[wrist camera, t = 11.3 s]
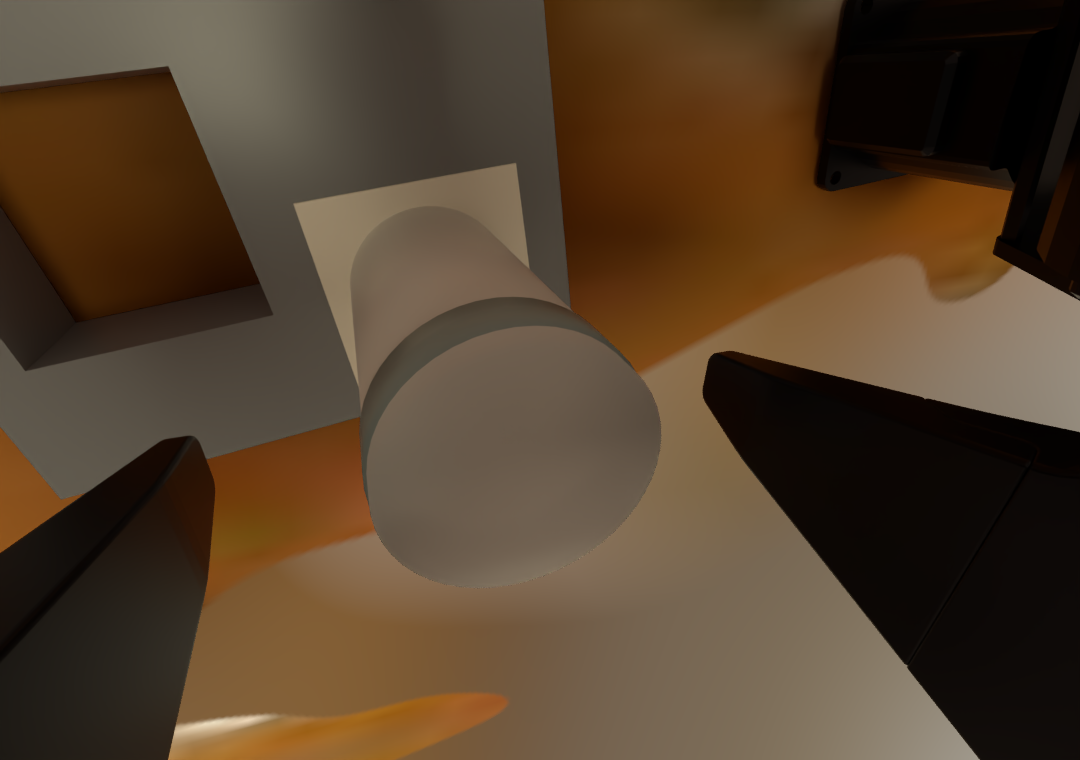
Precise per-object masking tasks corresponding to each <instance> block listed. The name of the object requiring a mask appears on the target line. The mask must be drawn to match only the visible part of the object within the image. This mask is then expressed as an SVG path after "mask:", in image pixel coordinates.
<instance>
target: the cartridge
mask: <svg viewBox="0 0 1080 760" xmlns="http://www.w3.org/2000/svg"><path fill="white" fill-rule="evenodd" d="M350 292H351V304H352V315H353V327H354V338H355V349H356V361H357V372H358V384H359V395H360V407H361V416H360V431H359V435H360V448H361V461H362V474H363V482H364V491H365V494H366V497H367V500H368V504H369V507H370V515H371V518H372V521H373V524H374V528H375V530H376V532H377V534H378V536H379V538H380V540H381V542H382V543H383V544H384V546H385V547H386V548H387V550H388V551H389V552H390V553H391V555H392V556H394V557H395V558H396V559H397V560H398V561H399V562H400V563H401V564H402V565H404V566H405V567H407V568H408V569H410V570H411V571H413V572H414V573H416V574H418V575H421V576H423V577H425V578H427V579H430V580H432V581H436V582H439V583H442V584H446V585H452V586H458V587H469V588H490V587H500V586H507V585H513V584H518V583H522V582H526V581H530V580H533V579H536V578H539V577H542V576H545V575H547V574H549V573H552V572H554V571H557V570H559V569H561V568H563V567H565V566H567V565H569V564H571V563H572V562H574V561H576V560H578V559H579V558H581V557H582V556H584V555H586V554H587V553H589V552H590V551H592V550H593V549H594V548H596V547H597V546H598V545H600V544H601V543H602V542H603V541H604V540H605V539H607V538H608V537H609V536H610V535H611V534H612V533H613V532H615V531H616V529H617V528H618V527H619V526H620V525H621V524H622V523H623V522H624V521H625V520H626V519H627V517H628V516H629V515H630V514H631V512H632V511H633V510H634V508H635V507H636V506H637V504H638V503H639V501H640V499H641V498H642V496H643V495H644V493H645V491H646V489H647V487H648V485H649V483H650V481H651V479H652V476H653V474H654V471H655V468H656V465H657V461H658V456H659V452H660V444H661V424H660V417H659V413H658V409H657V405H656V403H655V401H654V398H653V396H652V393H651V392H650V390H649V389H648V387H647V386H646V384H645V382H644V381H643V380H642V379H641V377H640V376H639V375H638V374H637V373H636V372H635V370H634V368H633V367H632V365H631V364H630V362H629V361H628V360H627V359H626V358H625V357H624V356H623V355H622V354H621V353H620V351H618V350H617V349H616V348H615V347H614V346H613V345H612V344H611V343H610V342H609V341H608V340H607V339H606V338H605V337H604V336H603V335H602V334H601V333H600V332H598V331H597V330H596V329H595V328H594V327H593V326H592V325H591V324H590V323H588V322H587V321H586V320H585V319H583V318H582V317H581V316H579V315H578V314H576V313H574V312H573V311H572V310H571V309H570V308H569V307H568V306H567V305H566V304H565V303H564V302H563V301H562V300H561V299H560V298H559V297H558V296H557V295H556V294H555V293H553V292H552V291H551V290H550V289H549V288H548V287H547V286H546V285H545V284H544V283H543V282H542V281H541V280H540V279H539V278H538V277H537V276H536V275H535V274H534V273H533V272H532V271H531V270H530V269H529V268H528V267H527V266H526V265H524V264H523V263H522V262H521V261H520V260H519V259H518V258H517V257H516V256H515V255H514V254H513V253H512V252H511V251H510V250H509V249H508V248H507V247H506V246H505V245H504V244H503V243H502V242H501V241H500V240H499V239H498V238H496V237H495V236H494V235H493V234H492V233H491V232H490V231H489V230H488V229H487V228H486V227H485V226H484V225H482V224H481V223H480V222H479V221H477V220H476V219H474V218H473V217H471V216H469V215H467V214H465V213H463V212H460V211H458V210H454V209H450V208H446V207H439V206H423V207H415V208H411V209H408V210H404V211H401V212H399V213H397V214H394V215H392V216H391V217H389V218H387V219H386V220H384V221H383V222H381V223H380V224H379V225H378V226H376V227H375V228H374V229H373V230H372V231H371V232H370V233H369V234H368V235H367V237H366V238H365V240H364V241H363V242H362V244H361V245H360V247H359V249H358V251H357V253H356V255H355V258H354V261H353V264H352V269H351V274H350Z"/></svg>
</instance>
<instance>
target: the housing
mask: <svg viewBox="0 0 1080 760" xmlns="http://www.w3.org/2000/svg"><path fill="white" fill-rule="evenodd" d="M165 72H171V73H172V76H173V78H174V81H175V83H176V85H177V88H178V90H179V92H180V95H181V97H182V99H183V102H184V104H185V107H186V109H187V111H188V114H189V116H190V118H191V121H192V123H193V125H194V128H195V130H196V133H197V135H198V137H199V140H200V142H201V144H202V147H203V149H204V151H205V154H206V156H207V159H208V161H209V163H210V166H211V168H212V170H213V173H214V175H215V177H216V180H217V182H218V185H219V187H220V189H221V192H222V194H223V196H224V199H225V201H226V203H227V206H228V208H229V211H230V213H231V215H232V218H233V220H234V222H235V225H236V227H237V229H238V232H239V234H240V237H241V239H242V241H243V244H244V246H245V248H246V251H247V253H248V255H249V258H250V260H251V263H252V265H253V267H254V270H255V272H256V274H257V277H258V279H259V281H260V284H256V285H251V286H247V287H242V288H237V289H233V290H228V291H223V292H219V293H214V294H209V295H204V296H200V297H195V298H190V299H186V300H181V301H176V302H171V303H167V304H162V305H157V306H153V307H148V308H143V309H138V310H134V311H129V312H124V313H120V314H115V315H110V316H105V317H101V318H96V319H91V320H87V321H82V322H77V323H76V322H75V320H74V319H73V317H72V316H71V314H70V313H69V311H68V310H67V308H66V307H65V305H64V303H63V302H62V300H61V299H60V297H59V296H58V294H57V293H56V291H55V290H54V288H53V287H52V285H51V284H50V282H49V280H48V279H47V277H46V276H45V274H44V273H43V271H42V270H41V268H40V267H39V265H38V264H37V262H36V260H35V259H34V257H33V256H32V254H31V253H30V251H29V250H28V248H27V247H26V245H25V244H24V242H23V240H22V239H21V237H20V236H19V234H18V233H17V231H16V230H15V228H14V227H13V225H12V224H11V222H10V221H9V219H8V217H7V216H6V214H5V213H4V211H3V210H2V208H1V207H0V427H1V428H2V429H3V431H4V432H5V433H6V434H7V435H8V436H9V438H10V439H11V440H12V441H13V442H14V444H15V445H16V446H17V447H18V448H19V450H20V451H21V452H22V453H23V454H24V456H25V457H26V458H27V459H28V460H29V462H30V463H31V464H32V465H33V466H34V468H35V469H36V470H37V471H38V472H39V474H40V475H41V476H42V477H43V478H44V480H45V481H46V482H47V483H48V484H49V486H50V487H51V488H52V489H53V490H54V492H55V493H56V494H57V495H58V496H59V498H60V499H65V498H68V497H72V496H76V495H79V494H83V493H86V492H88V491H90V490H91V489H92V488H94V487H95V486H97V485H98V484H100V483H101V482H102V481H104V480H105V479H107V478H108V477H110V476H111V475H112V474H114V473H115V472H117V471H118V470H120V469H121V468H122V467H124V466H125V465H127V464H128V463H130V462H131V461H132V460H134V459H135V458H137V457H138V456H140V455H141V454H142V453H144V452H145V451H147V450H148V449H150V448H151V447H152V446H154V445H155V444H157V443H158V442H160V441H161V440H164V439H168V438H175V437H181V436H187V435H192V436H194V437H196V438H197V439H198V441H199V442H200V444H201V447H202V449H203V452H204V455H205V457H206V459H209V458H213V457H217V456H220V455H224V454H227V453H231V452H235V451H238V450H242V449H245V448H249V447H253V446H256V445H260V444H263V443H267V442H271V441H274V440H278V439H282V438H285V437H289V436H292V435H296V434H300V433H303V432H307V431H310V430H314V429H318V428H321V427H325V426H329V425H332V424H336V423H339V422H343V421H347V420H350V419H354V418H357V417H360V416H361V407H360V395H359V384H358V372H357V361H356V349H355V338H354V327H353V315H352V304H351V292H350V274H351V269H352V264H353V261H354V258H355V255H356V253H357V251H358V249H359V247H360V245H361V244H362V242H363V241H364V240H365V238H366V237H367V235H368V234H369V233H370V232H371V231H372V230H373V229H374V228H375V227H376V226H378V225H379V224H380V223H381V222H383V221H384V220H386V219H387V218H389V217H391V216H392V215H394V214H397V213H399V212H401V211H404V210H408V209H411V208H415V207H423V206H439V207H446V208H450V209H454V210H458V211H460V212H463V213H465V214H467V215H469V216H471V217H473V218H474V219H476V220H477V221H479V222H480V223H481V224H482V225H484V226H485V227H486V228H487V229H488V230H489V231H490V232H491V233H492V234H493V235H494V236H495V237H496V238H498V239H499V240H500V241H501V242H502V243H503V244H504V245H505V246H506V247H507V248H508V249H509V250H510V251H511V252H512V253H513V254H514V255H515V256H516V257H517V258H518V259H519V260H520V261H521V262H522V263H523V264H524V265H526V266H527V267H528V268H529V269H530V270H531V271H532V272H533V273H534V274H535V275H536V276H537V277H538V278H539V279H540V280H541V281H542V282H543V283H544V284H545V285H546V286H547V287H548V288H549V289H550V290H551V291H552V292H553V293H555V294H556V295H557V296H558V297H559V298H560V299H561V300H562V301H563V302H564V303H565V304H566V305H567V306H568V307H569V308H570V309H571V305H570V293H569V282H568V271H567V259H566V248H565V237H564V226H563V214H562V203H561V192H560V180H559V169H558V158H557V147H556V135H555V124H554V113H553V101H552V90H551V79H550V68H549V56H548V45H547V34H546V22H545V11H544V0H0V93H2V92H10V91H18V90H27V89H35V88H43V87H51V86H59V85H67V84H75V83H83V82H92V81H100V80H108V79H116V78H124V77H132V76H140V75H148V74H157V73H165Z"/></svg>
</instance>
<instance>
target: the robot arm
mask: <svg viewBox="0 0 1080 760" xmlns="http://www.w3.org/2000/svg"><path fill="white" fill-rule="evenodd" d="M862 1H863V8H862V11H861V4H862ZM832 174H833V177H832V179H831V180H830V178H831V176H832ZM906 174H912V175H918V176H924V177H930V178H936V179H942V180H948V181H954V182H960V183H966V184H972V185H978V186H984V187H990V188H996V189H1002V190H1009V191H1013V192H1012V196H1011V199H1010V203H1009V207H1008V211H1007V214H1006V218H1005V222H1004V225H1003V229H1002V233H1001V235H1000V236H998V237H997V238H996V242H995V246H994V250H993V254H994V255H996V256H997V257H999V258H1001V259H1003V260H1005V261H1007V262H1009V263H1010V264H1012V265H1014V266H1016V267H1018V268H1020V269H1022V270H1023V271H1025V272H1027V273H1029V274H1031V275H1033V276H1035V277H1037V278H1038V279H1040V280H1042V281H1044V282H1046V283H1048V284H1050V285H1052V286H1053V287H1055V288H1057V289H1059V290H1061V291H1063V292H1065V293H1066V294H1068V295H1070V296H1072V297H1074V298H1076V299H1078V300H1079V301H1080V0H848V1H847V3H846V7H845V12H844V18H843V24H842V30H841V36H840V42H839V48H838V55H837V61H836V67H835V73H834V79H833V85H832V92H831V98H830V104H829V110H828V116H827V122H826V128H825V135H824V141H823V147H822V153H821V159H820V165H819V171H818V178H817V184H818V186H819V188H821V189H823V190H827V191H836V190H840V189H845V188H849V187H854V186H858V185H862V184H867V183H871V182H876V181H880V180H884V179H889V178H893V177H898V176H902V175H906ZM703 398H704V401H705V403H706V404H707V406H708V407H709V409H710V410H711V412H712V414H713V415H714V417H715V418H716V420H717V421H718V423H719V424H720V426H721V428H722V429H723V431H724V432H725V434H726V435H727V437H728V438H729V440H730V442H731V443H732V445H733V446H734V448H735V449H736V451H737V452H738V454H739V455H740V457H741V458H742V460H743V461H744V462H745V464H746V465H747V466H748V468H749V469H750V470H751V471H752V473H753V474H754V475H755V476H756V478H757V479H758V480H759V481H760V483H761V484H762V485H763V486H764V488H765V489H766V490H767V492H768V493H769V494H770V495H771V497H772V498H773V499H774V500H775V502H776V503H777V504H778V505H779V507H780V508H781V509H782V510H783V512H784V513H785V514H786V515H787V516H788V518H789V519H790V520H791V522H792V523H793V524H794V526H795V527H796V528H797V529H798V531H799V532H800V533H801V534H802V536H803V537H804V538H805V539H806V541H807V542H808V543H809V544H810V546H811V547H812V548H813V549H814V551H815V552H816V553H817V554H818V556H819V557H820V558H821V559H822V561H823V562H824V563H825V565H826V566H827V567H828V568H829V570H830V571H831V572H832V573H833V575H834V576H835V577H836V578H837V579H838V581H839V582H840V583H841V585H842V586H843V587H844V588H845V590H846V591H847V592H848V593H849V595H850V596H851V597H852V598H853V600H854V601H855V602H856V604H857V605H858V606H859V607H860V608H861V610H862V611H863V612H864V613H865V615H866V616H867V617H868V619H869V620H870V621H871V622H872V624H873V625H874V626H875V627H876V628H877V630H878V631H879V633H880V634H881V635H882V636H883V638H884V639H885V640H886V641H887V643H888V644H889V645H890V646H891V648H892V649H893V650H894V651H895V653H896V654H897V655H898V656H899V658H900V659H901V660H902V661H903V662H904V664H906V665H908V666H907V668H908V670H909V671H910V672H911V673H912V675H913V676H914V677H915V678H916V680H917V681H918V682H919V684H920V685H921V686H922V687H923V689H924V690H925V691H926V692H927V694H928V695H929V696H930V697H931V699H932V700H933V701H934V702H935V704H936V705H937V706H938V708H939V709H940V710H941V711H942V712H943V714H944V715H945V716H946V718H947V719H948V720H949V721H950V722H951V724H952V725H953V726H954V727H955V729H956V730H957V731H958V733H959V734H960V735H961V737H962V738H963V739H964V740H965V742H966V743H967V744H968V745H969V747H970V748H971V749H972V750H973V752H974V753H975V754H976V755H977V757H978V758H979V759H980V760H1080V432H1076V431H1072V430H1067V429H1062V428H1057V427H1053V426H1048V425H1043V424H1038V423H1033V422H1029V421H1024V420H1019V419H1015V418H1010V417H1006V416H1001V415H996V414H991V413H987V412H983V411H979V410H974V409H970V408H966V407H961V406H957V405H953V404H949V403H944V402H940V401H936V400H932V399H924V398H923V397H920V396H916V395H911V394H907V393H903V392H899V391H895V390H891V389H887V388H883V387H879V386H874V385H870V384H866V383H862V382H858V381H854V380H850V379H845V378H842V377H837V376H833V375H829V374H825V373H821V372H817V371H813V370H809V369H805V368H800V367H796V366H792V365H788V364H784V363H780V362H776V361H772V360H767V359H764V358H759V357H755V356H751V355H746V354H743V353H739V352H735V351H726V352H719V353H714V354H713V355H712V356H711V357H710V358H709V361H708V365H707V370H706V375H705V380H704V385H703ZM214 501H215V484H214V479H213V476H212V473H211V471H210V468H209V465H208V463H207V460H206V457H205V455H204V452H203V449H202V447H201V444H200V442H199V441H198V439H197V438H196V437H194V436H192V435H187V436H181V437H175V438H168V439H164V440H161V441H160V442H158V443H157V444H155V445H154V446H152V447H151V448H150V449H148V450H147V451H145V452H144V453H142V454H141V455H140V456H138V457H137V458H135V459H134V460H132V461H131V462H130V463H128V464H127V465H125V466H124V467H122V468H121V469H120V470H118V471H117V472H115V473H114V474H112V475H111V476H110V477H108V478H107V479H105V480H104V481H102V482H101V483H100V484H98V485H97V486H95V487H94V488H92V489H91V490H90V491H88V492H87V493H85V494H84V495H82V496H81V497H80V498H78V499H77V500H75V501H74V502H72V503H71V504H70V505H68V506H67V507H65V508H64V509H62V510H61V511H60V512H58V513H57V514H55V515H54V516H53V517H51V518H50V519H48V520H47V521H45V522H44V523H43V524H41V525H40V526H38V527H37V528H35V529H34V530H33V531H31V532H30V533H28V534H27V535H25V536H24V537H23V538H21V539H20V540H18V541H17V542H15V543H14V544H13V545H11V546H10V547H8V548H7V549H5V550H4V551H3V552H1V553H0V760H168V757H169V753H170V748H171V744H172V739H173V735H174V730H175V726H176V721H177V717H178V713H179V708H180V704H181V699H182V695H183V690H184V686H185V681H186V677H187V672H188V668H189V663H190V659H191V654H192V650H193V645H194V641H195V637H196V632H197V628H198V623H199V618H200V614H201V610H202V605H203V601H204V596H205V591H206V586H207V580H208V571H209V561H210V549H211V537H212V525H213V513H214Z"/></svg>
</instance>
